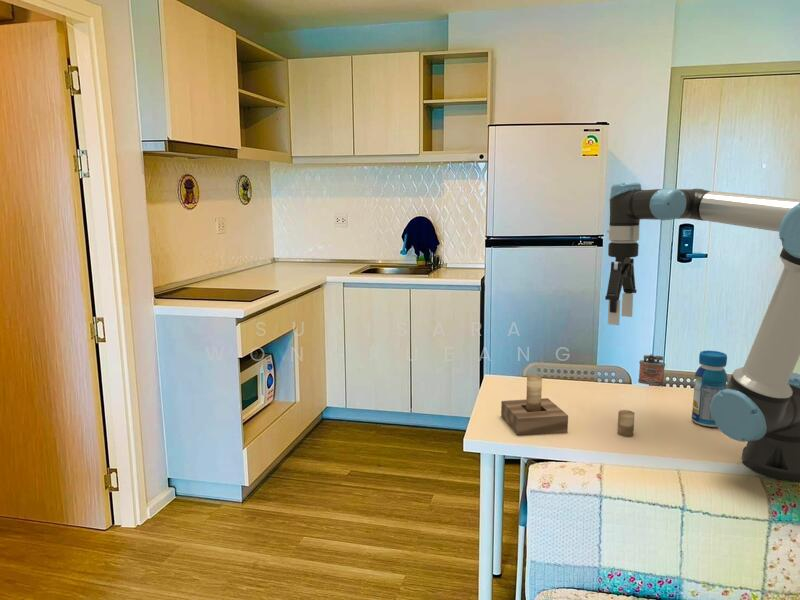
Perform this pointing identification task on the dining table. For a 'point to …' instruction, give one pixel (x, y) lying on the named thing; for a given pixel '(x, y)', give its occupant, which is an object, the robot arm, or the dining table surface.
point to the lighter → (651, 370)
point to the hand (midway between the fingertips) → (620, 320)
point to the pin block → (534, 418)
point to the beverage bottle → (708, 385)
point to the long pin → (533, 393)
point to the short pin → (625, 423)
